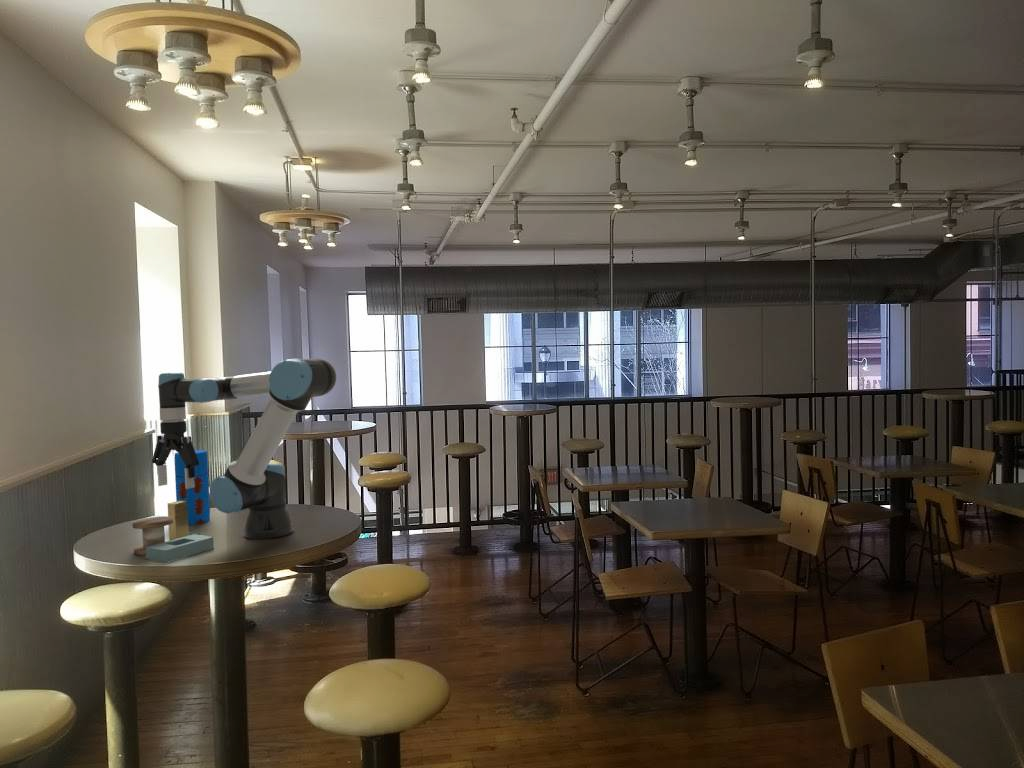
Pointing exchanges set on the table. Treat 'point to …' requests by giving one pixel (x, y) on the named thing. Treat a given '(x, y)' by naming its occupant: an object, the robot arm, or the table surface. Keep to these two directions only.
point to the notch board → (179, 548)
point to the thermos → (200, 493)
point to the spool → (151, 531)
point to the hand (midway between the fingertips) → (176, 486)
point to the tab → (178, 520)
